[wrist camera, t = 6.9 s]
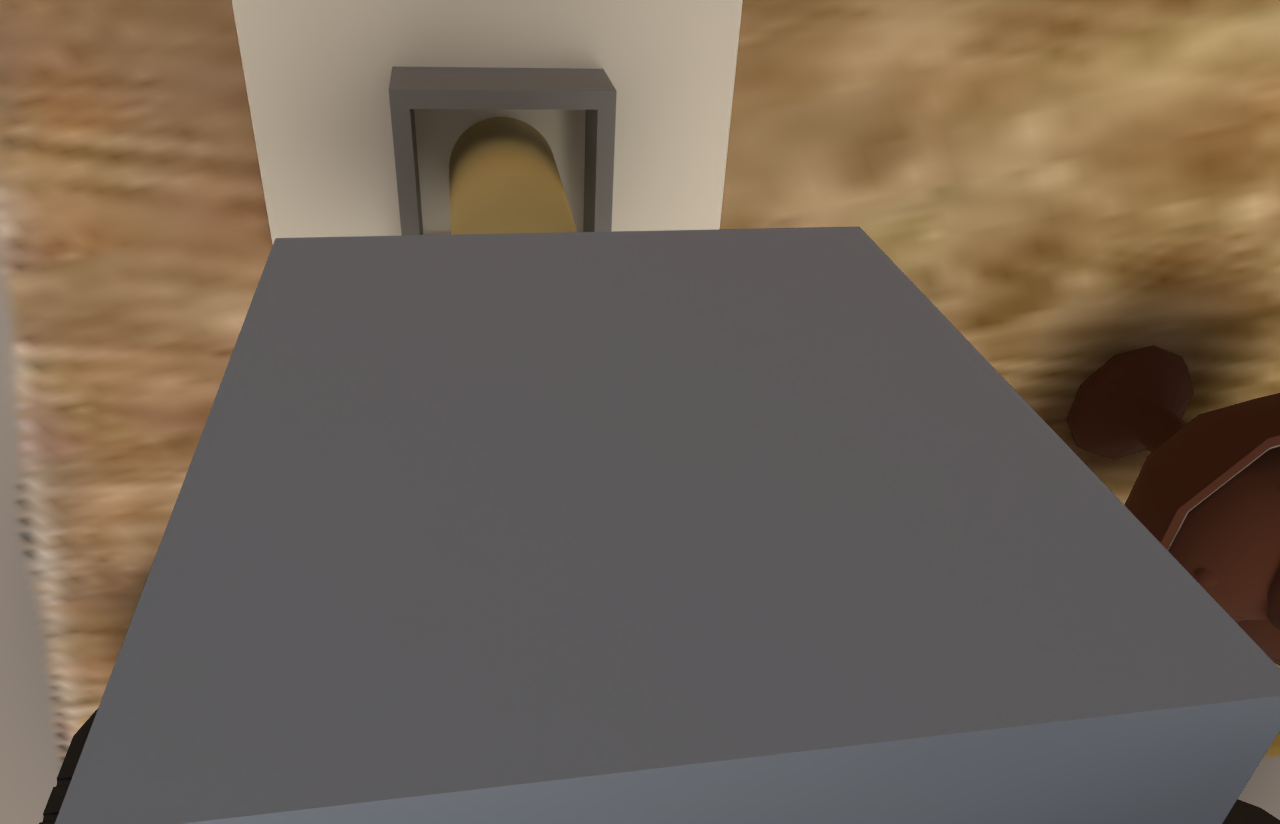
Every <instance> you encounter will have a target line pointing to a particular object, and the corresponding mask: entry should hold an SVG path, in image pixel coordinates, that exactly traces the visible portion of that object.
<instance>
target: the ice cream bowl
mask: <svg viewBox="0 0 1280 824" xmlns="http://www.w3.org/2000/svg"><path fill="white" fill-rule="evenodd" d="M1192 395H1193V389H1192V385H1191V381H1190V376H1189V372H1188V368H1187V365H1186V364H1185V362H1184V360H1183V358H1182V357H1181V356H1178V355H1176V354H1173V353H1171V352H1168V351H1166V350H1163V349H1161V348H1158V347H1156V346H1150V347H1146V348H1143V349H1139V350H1135V351H1132V352H1128V353H1125V354H1121V355H1117V356H1114V357H1113V358H1112V359H1111V360H1109V361H1108V362H1107V363H1106V364H1105V365H1104V366H1102V367H1101V368H1100V369H1099V370H1098V371H1097V372H1096V373H1094V374H1093V375H1092V376H1091V377H1090V378H1089V379H1087V380H1086V381H1085V382H1084V383H1083V384H1082V385H1081V386H1080V389H1079V391H1078V394H1077V396H1076V398H1075V401H1074V403H1073V406H1072V408H1071V411H1070V413H1069V416H1068V418H1067V420H1068V423H1069V426H1070V429H1071V432H1072V434H1073V437H1074V440H1075V443H1076V445H1077V446H1079V447H1081V448H1083V449H1085V450H1088V451H1091V452H1094V453H1097V454H1100V455H1103V456H1106V457H1109V458H1112V459H1115V458H1118V457H1122V456H1126V455H1129V454H1133V453H1136V452H1140V451H1143V450H1147V449H1148V450H1149V451H1151V452H1152V453H1151V454H1150V455H1149V456H1148V457H1147V459H1146V461H1145V463H1144V465H1143V467H1142V469H1141V472H1140V474H1139V476H1138V478H1137V480H1136V482H1135V484H1134V486H1133V488H1132V490H1131V493H1130V495H1129V497H1128V499H1127V501H1126V503H1125V506H1126V507H1127V508H1128V510H1129V511H1130V512H1131V513H1132V514H1133V515H1134V516H1135V517H1136V518H1137V519H1138V520H1139V521H1140V522H1141V523H1142V524H1143V525H1144V526H1145V527H1146V528H1147V529H1148V531H1149V532H1150V533H1151V534H1152V535H1153V536H1154V537H1155V538H1156V539H1157V540H1158V541H1159V542H1160V543H1161V544H1162V545H1163V546H1164V547H1165V548H1166V549H1167V551H1168V552H1169V553H1170V554H1171V555H1172V556H1173V557H1174V558H1175V559H1176V560H1177V561H1178V562H1179V563H1180V564H1181V565H1182V566H1183V567H1184V568H1185V569H1186V570H1187V572H1188V573H1189V574H1190V575H1191V576H1192V577H1193V578H1194V579H1195V580H1196V581H1197V582H1198V583H1199V584H1200V585H1201V586H1202V587H1203V588H1204V589H1205V590H1206V592H1207V593H1208V594H1209V595H1210V596H1211V597H1212V598H1213V599H1214V600H1215V601H1216V602H1217V603H1218V604H1219V605H1220V606H1221V607H1222V608H1223V609H1224V610H1225V611H1226V613H1227V614H1228V615H1229V616H1230V617H1231V618H1232V619H1233V620H1234V621H1235V622H1236V623H1237V624H1238V625H1239V626H1240V627H1241V628H1242V629H1243V630H1244V631H1245V632H1246V634H1247V635H1248V636H1249V637H1250V638H1251V639H1252V640H1253V641H1254V642H1255V643H1256V644H1257V645H1258V646H1259V647H1260V648H1261V649H1262V650H1263V651H1264V652H1265V654H1266V655H1267V656H1268V657H1269V658H1270V659H1271V660H1272V661H1273V662H1274V663H1276V664H1277V665H1279V666H1280V393H1278V394H1274V395H1269V396H1265V397H1261V398H1257V399H1253V400H1249V401H1246V402H1242V403H1239V404H1235V405H1232V406H1228V407H1224V408H1221V409H1217V410H1214V411H1210V412H1206V413H1203V414H1199V415H1198V416H1197V417H1195V418H1194V419H1193V420H1192V421H1190V422H1189V423H1188V424H1186V423H1185V422H1184V421H1183V420H1182V419H1181V418H1182V416H1183V414H1184V412H1185V410H1186V407H1187V405H1188V403H1189V401H1190V399H1191V397H1192Z"/></svg>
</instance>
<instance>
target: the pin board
mask: <svg viewBox="0 0 1280 824" xmlns="http://www.w3.org/2000/svg"><path fill="white" fill-rule="evenodd" d="M742 2H743V0H232V5H233V11H234V17H235V23H236V29H237V35H238V41H239V47H240V53H241V59H242V65H243V71H244V77H245V83H246V89H247V95H248V101H249V107H250V113H251V119H252V125H253V131H254V137H255V143H256V149H257V155H258V161H259V167H260V173H261V179H262V185H263V190H264V196H265V202H266V208H267V214H268V220H269V226H270V232H271V238H272V244H274V241H275V239H276V238H303V237H355V236H406V235H458V234H510V233H562V232H613V231H665V230H717V229H720V219H721V209H722V199H723V189H724V179H725V169H726V160H727V150H728V140H729V130H730V120H731V110H732V100H733V91H734V81H735V71H736V61H737V51H738V41H739V31H740V22H741V12H742Z"/></svg>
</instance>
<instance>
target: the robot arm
mask: <svg viewBox="0 0 1280 824" xmlns="http://www.w3.org/2000/svg"><path fill="white" fill-rule="evenodd" d="M97 711H98V709H97V710H96V711H95V712H94V713H93V714H92V716H91V717H90V718H89V719H88V720H87V721H86V722H85V724H84V725H83V726H82V727H81V728H80V729H79V730H78V732H77V733H76V734H75V735H74V736H73V739H72V741H71V744H70V746H69V749H68V751H67V754H66V757H65V759H64V762H63V764H62V767H61V769H60V772H59V774H58V777H57V786H56V787H53V790H52V792H51V795H50V797H49V800H48V803H47V805H46V808H45V810H44V813H43V815H44V818H43V822H42V823H39V824H55V822H56V819H57V817H58V814H59V811H60V809H61V806H62V803H63V801H64V798H65V795H66V793H67V790H68V787H69V785H70V782H71V779H72V777H73V774H74V772H75V769H76V766H77V764H78V761H79V758H80V756H81V753H82V750H83V748H84V745H85V742H86V740H87V737H88V734H89V732H90V729H91V726H92V724H93V721H94V719H95V716H96V713H97ZM1222 824H1280V820H1278V819H1277V818H1275V817H1274V816H1272V815H1271V814H1269V813H1268V812H1266V811H1264V810H1263V809H1261V808H1259V807H1257V806H1254V805H1251V804H1248V803H1246V802H1243V801H1241V800H1238V799H1237V800H1236V802H1235V804H1234V805H1233V807H1232V808H1231V810H1230V812H1229V813H1228V815H1227V817H1226V818H1225V820H1224V821H1223V823H1222Z"/></svg>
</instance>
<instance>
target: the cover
mask: <svg viewBox="0 0 1280 824" xmlns="http://www.w3.org/2000/svg"><path fill="white" fill-rule="evenodd" d="M1279 731H1280V668H1279V667H1278V666H1277V665H1276V664H1275V663H1274V662H1273V661H1272V660H1271V659H1270V658H1269V657H1268V656H1267V655H1266V654H1265V652H1264V651H1263V650H1262V649H1261V648H1260V647H1259V646H1258V645H1257V644H1256V643H1255V642H1254V641H1253V640H1252V639H1251V638H1250V637H1249V636H1248V635H1247V634H1246V632H1245V631H1244V630H1243V629H1242V628H1241V627H1240V626H1239V625H1238V624H1237V623H1236V622H1235V621H1234V620H1233V619H1232V618H1231V617H1230V616H1229V615H1228V614H1227V613H1226V611H1225V610H1224V609H1223V608H1222V607H1221V606H1220V605H1219V604H1218V603H1217V602H1216V601H1215V600H1214V599H1213V598H1212V597H1211V596H1210V595H1209V594H1208V593H1207V592H1206V590H1205V589H1204V588H1203V587H1202V586H1201V585H1200V584H1199V583H1198V582H1197V581H1196V580H1195V579H1194V578H1193V577H1192V576H1191V575H1190V574H1189V573H1188V572H1187V570H1186V569H1185V568H1184V567H1183V566H1182V565H1181V564H1180V563H1179V562H1178V561H1177V560H1176V559H1175V558H1174V557H1173V556H1172V555H1171V554H1170V553H1169V552H1168V551H1167V549H1166V548H1165V547H1164V546H1163V545H1162V544H1161V543H1160V542H1159V541H1158V540H1157V539H1156V538H1155V537H1154V536H1153V535H1152V534H1151V533H1150V532H1149V531H1148V529H1147V528H1146V527H1145V526H1144V525H1143V524H1142V523H1141V522H1140V521H1139V520H1138V519H1137V518H1136V517H1135V516H1134V515H1133V514H1132V513H1131V512H1130V511H1129V510H1128V508H1127V507H1126V506H1125V505H1124V504H1123V503H1122V502H1121V501H1120V500H1119V499H1118V498H1117V497H1116V496H1115V495H1114V494H1113V493H1112V492H1111V491H1110V490H1109V489H1108V487H1107V486H1106V485H1105V484H1104V483H1103V482H1102V481H1101V480H1100V479H1099V478H1098V477H1097V476H1096V475H1095V474H1094V473H1093V472H1092V471H1091V470H1090V469H1089V467H1088V466H1087V465H1086V464H1085V463H1084V462H1083V461H1082V460H1081V459H1080V458H1079V457H1078V456H1077V455H1076V454H1075V453H1074V452H1073V451H1072V450H1071V449H1070V448H1069V446H1068V445H1067V444H1066V443H1065V442H1064V441H1063V440H1062V439H1061V438H1060V437H1059V436H1058V435H1057V434H1056V433H1055V432H1054V431H1053V430H1052V429H1051V428H1050V427H1049V425H1048V424H1047V423H1046V422H1045V421H1044V420H1043V419H1042V418H1041V417H1040V416H1039V415H1038V414H1037V413H1036V412H1035V411H1034V410H1033V409H1032V408H1031V407H1030V405H1029V404H1028V403H1027V402H1026V401H1025V400H1024V399H1023V398H1022V397H1021V396H1020V395H1019V394H1018V393H1017V392H1016V391H1015V390H1014V389H1013V388H1012V387H1011V386H1010V384H1009V383H1008V382H1007V381H1006V380H1005V379H1004V378H1003V377H1002V376H1001V375H1000V374H999V373H998V372H997V371H996V370H995V369H994V368H993V367H992V366H991V364H990V363H989V362H988V361H987V360H986V359H985V358H984V357H983V356H982V355H981V354H980V353H979V352H978V351H977V350H976V349H975V348H974V347H973V346H972V345H971V343H970V342H969V341H968V340H967V339H966V338H965V337H964V336H963V335H962V334H961V333H960V332H959V331H958V330H957V329H956V328H955V327H954V326H953V325H952V324H951V322H950V321H949V320H948V319H947V318H946V317H945V316H944V315H943V314H942V313H941V312H940V311H939V310H938V309H937V308H936V307H935V306H934V305H933V304H932V302H931V301H930V300H929V299H928V298H927V297H926V296H925V295H924V294H923V293H922V292H921V291H920V290H919V289H918V288H917V287H916V286H915V285H914V284H913V283H912V281H911V280H910V279H909V278H908V277H907V276H906V275H905V274H904V273H903V272H902V271H901V270H900V269H899V268H898V267H897V266H896V265H895V264H894V263H893V261H892V260H891V259H890V258H889V257H888V256H887V255H886V254H885V253H884V252H883V251H882V250H881V249H880V248H879V247H878V246H877V245H876V244H875V243H874V242H873V240H872V239H871V238H870V237H869V236H868V235H867V234H866V233H865V232H864V231H863V230H862V229H861V228H860V227H820V228H769V229H717V230H665V231H613V232H562V233H510V234H458V235H406V236H355V237H303V238H276V239H275V241H274V244H273V247H272V249H271V252H270V254H269V257H268V260H267V262H266V265H265V268H264V270H263V273H262V276H261V278H260V281H259V284H258V286H257V289H256V292H255V294H254V297H253V300H252V302H251V305H250V308H249V310H248V313H247V315H246V318H245V321H244V323H243V326H242V329H241V331H240V334H239V337H238V339H237V342H236V345H235V347H234V350H233V353H232V355H231V358H230V361H229V363H228V366H227V369H226V371H225V374H224V376H223V379H222V382H221V384H220V387H219V390H218V392H217V395H216V398H215V400H214V403H213V406H212V408H211V411H210V414H209V416H208V419H207V422H206V424H205V427H204V429H203V432H202V435H201V437H200V440H199V443H198V445H197V448H196V451H195V453H194V456H193V459H192V461H191V464H190V467H189V469H188V472H187V475H186V477H185V480H184V483H183V485H182V488H181V490H180V493H179V496H178V498H177V501H176V504H175V506H174V509H173V512H172V514H171V517H170V520H169V522H168V525H167V528H166V530H165V533H164V536H163V538H162V541H161V544H160V546H159V549H158V551H157V554H156V557H155V559H154V562H153V565H152V567H151V570H150V573H149V575H148V578H147V581H146V583H145V586H144V589H143V591H142V594H141V597H140V599H139V602H138V604H137V607H136V610H135V612H134V615H133V618H132V620H131V623H130V626H129V628H128V631H127V634H126V636H125V639H124V642H123V644H122V647H121V650H120V652H119V655H118V658H117V660H116V663H115V665H114V668H113V671H112V673H111V676H110V679H109V681H108V684H107V687H106V689H105V692H104V695H103V697H102V700H101V703H100V705H99V708H98V711H97V713H96V716H95V719H94V721H93V724H92V726H91V729H90V732H89V734H88V737H87V740H86V742H85V745H84V748H83V750H82V753H81V756H80V758H79V761H78V764H77V766H76V769H75V772H74V774H73V777H72V779H71V782H70V785H69V787H68V790H67V793H66V795H65V798H64V801H63V803H62V806H61V809H60V811H59V814H58V817H57V819H56V822H55V824H1222V823H1223V821H1224V820H1225V818H1226V817H1227V815H1228V813H1229V812H1230V810H1231V808H1232V807H1233V805H1234V804H1235V802H1236V800H1237V799H1238V797H1239V796H1240V794H1241V792H1242V791H1243V789H1244V787H1245V786H1246V784H1247V783H1248V781H1249V779H1250V778H1251V776H1252V775H1253V773H1254V771H1255V770H1256V768H1257V767H1258V765H1259V763H1260V762H1261V760H1262V759H1263V757H1264V755H1265V754H1266V752H1267V751H1268V749H1269V747H1270V746H1271V744H1272V742H1273V741H1274V739H1275V738H1276V736H1277V734H1278V733H1279Z"/></svg>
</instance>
